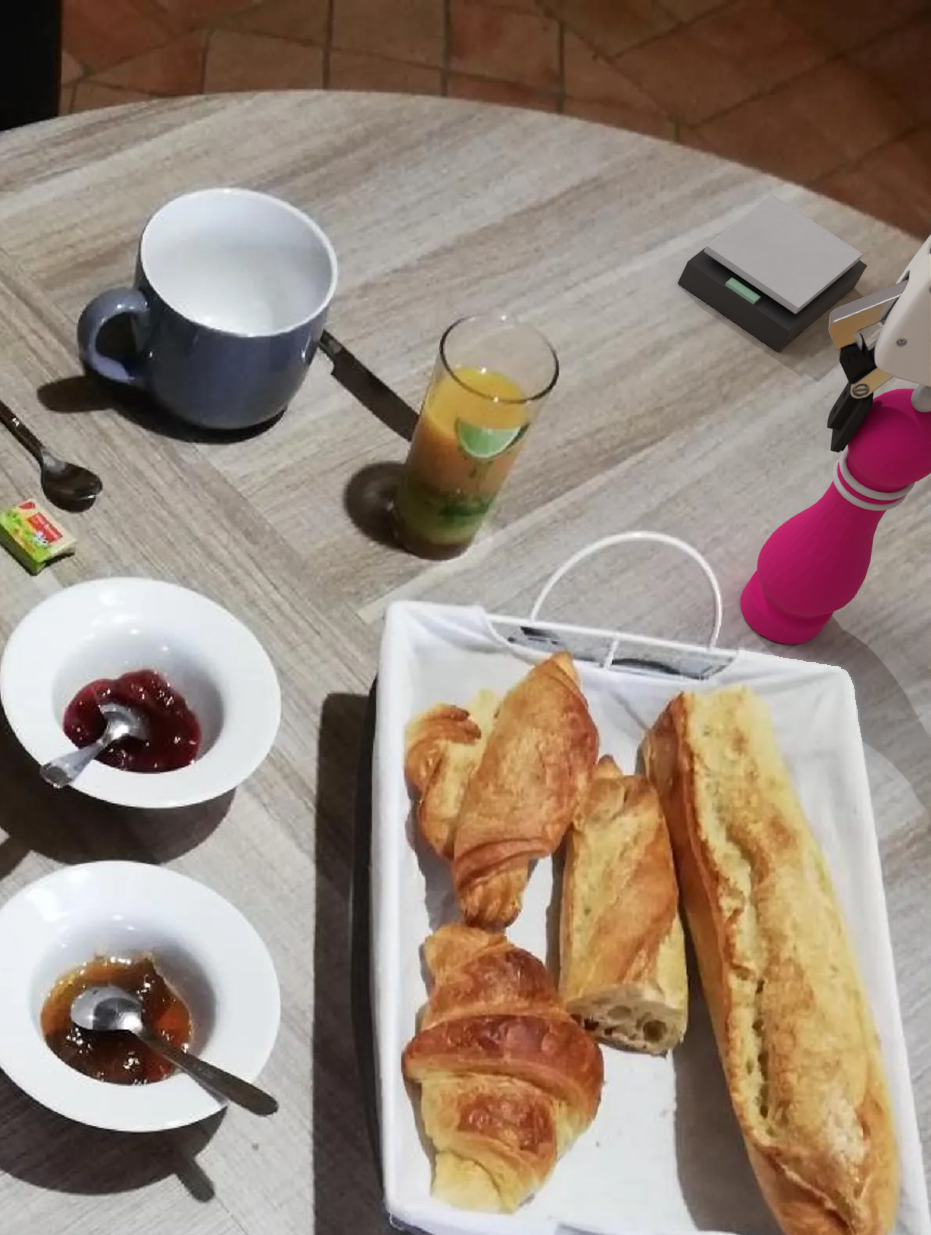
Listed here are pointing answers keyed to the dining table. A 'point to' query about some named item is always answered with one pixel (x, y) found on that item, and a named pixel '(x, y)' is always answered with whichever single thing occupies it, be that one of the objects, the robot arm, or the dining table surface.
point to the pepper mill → (840, 522)
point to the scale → (773, 272)
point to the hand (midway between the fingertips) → (891, 447)
